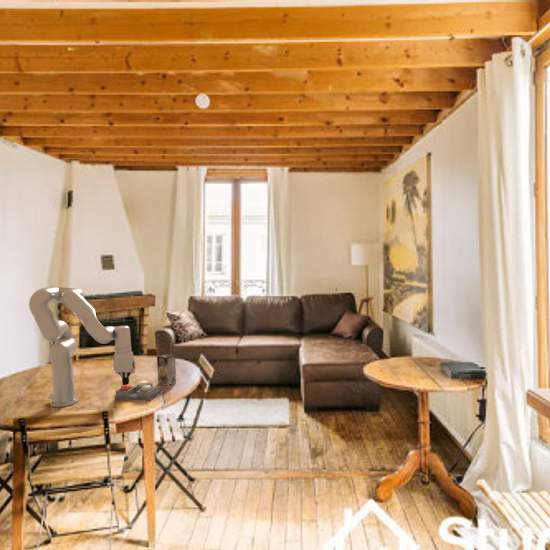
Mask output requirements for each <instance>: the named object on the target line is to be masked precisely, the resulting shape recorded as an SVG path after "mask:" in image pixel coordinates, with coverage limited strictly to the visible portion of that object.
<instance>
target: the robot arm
mask: <svg viewBox="0 0 550 550" xmlns="http://www.w3.org/2000/svg"><path fill="white" fill-rule="evenodd" d="M55 303H56V304H63V305H65V306H66V307H67V308H68V309H69V310H70V311H71V313H72V314H74V315H75V316H76V318H78V319H79V320H80V323H81V324H82V326H83V327H84V329H85V331H86V332H87V333H88V335H90V336H91V338H93V339H94V341H96V342H98V344H99V343H100V344H103V345H104V344H105V345H106V344H108V343H110V342H111V341H113V340H114V345H115V347H114V348H113V351H115V352H114V354H113V371H114V373H115V374H118V375H119V376H120V377H121V381H122V382H121V383H122V385H127V384H129V385H130V376H131V375H133V374H135V373H136V372H135V370H136V364H135V363H136V362H135V356H134V353H133V351H132V340H131V329H130V326H128V325H119V326H114V325H113V326H111V325H107V326H104V325H103V324H102V323H101V322H100V321H99V320H98V317H97V315H96V309H95V308H94V307H93V306H92V305H91V304H90V303H89V302H88V301H87V300H86V299H85V293H84V292H83V290H82V289H80V288H75V287H74V288H73V287H65V286H63V287H62V286H45V287H42V288H39V289H38V290H37V289H36V291H35V292H33V293H32V295H31V296H30V298H29V302H28V307H29V311H30V312H31V315H32V316H33V318H34V320H35V322H36V325H37V327H38V329H39V331H40V333H41V334H42V337H43V338H44V339H45V340H46V342H47V341H48V342H55V343H54V344H53V345H52V346H51V347H50V350H49V351H48V352H49V354H48V355H49V357H48V358H49V360H50V365H51V374H52V389H53V390H52V391H53V393H50V394H49V396H48V400H52V401H51V402H50V406H51V407H52V408H53V407H54V408H60V407H61V408H62V407H68V406H71V405H74V404H77V402H78V401H79V397H78V396H76V395H75V393H76V391H75V389H76V388H75V377H74V376H75V375H74V365H73V360H72V356H74V354H75V353H76V352H77V350H78V343H77V341H76V339H75V337H74V335H73V332H72V330H71V328H70V326H69V325H68V323H67V322H65V321H63V320H60V319H57V318H56V316H55V314H54V312H53V310H52V309H51V308H50V304H55Z"/></svg>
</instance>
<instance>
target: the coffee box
mask: <svg viewBox="0 0 550 550" xmlns="http://www.w3.org/2000/svg"><path fill="white" fill-rule="evenodd" d="M156 365H157V366H156V367H157V382H158V384H159V383H162V384H161V385H163V384H166V385H165V386H167V385H169V384H172V383H174V384H176V383H177V370H176V356H175V355H173V354H166V353H164V354H160V355H157V356H156ZM175 382H176V383H175ZM172 385H173V384H172ZM169 386H170V385H169Z"/></svg>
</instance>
